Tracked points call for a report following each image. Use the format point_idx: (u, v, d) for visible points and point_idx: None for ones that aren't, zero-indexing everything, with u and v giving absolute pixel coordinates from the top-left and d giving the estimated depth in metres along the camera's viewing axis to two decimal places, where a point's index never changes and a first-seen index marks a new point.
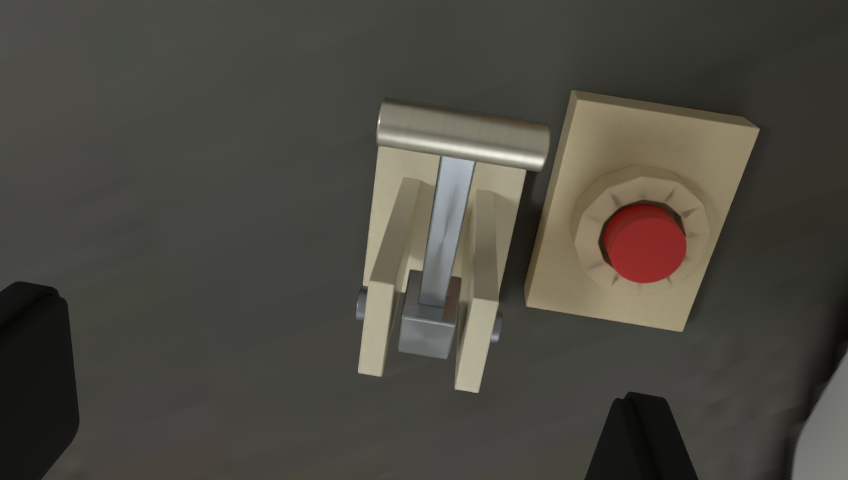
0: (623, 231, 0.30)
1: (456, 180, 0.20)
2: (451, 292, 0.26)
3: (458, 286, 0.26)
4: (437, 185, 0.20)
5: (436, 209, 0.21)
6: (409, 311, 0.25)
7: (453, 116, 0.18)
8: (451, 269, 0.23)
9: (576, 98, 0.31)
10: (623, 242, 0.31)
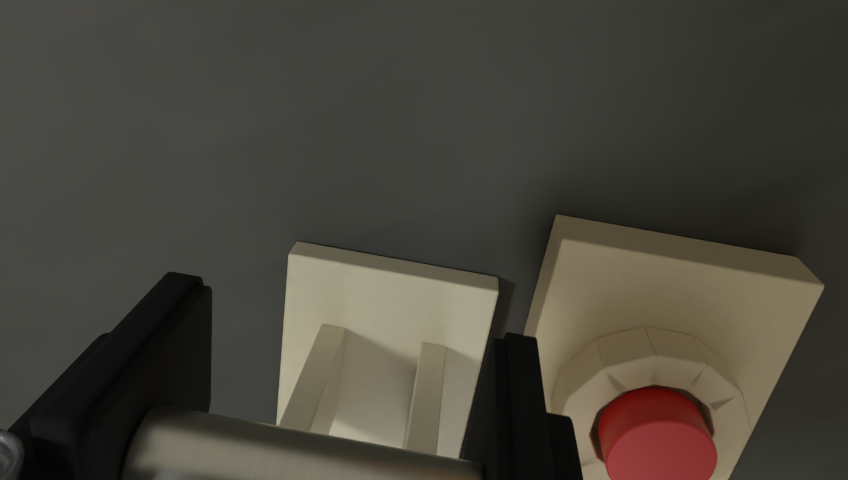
0: (626, 436, 0.21)
1: None
2: None
3: None
4: None
5: None
6: None
7: (279, 469, 0.09)
8: None
9: (561, 235, 0.22)
10: (625, 450, 0.21)
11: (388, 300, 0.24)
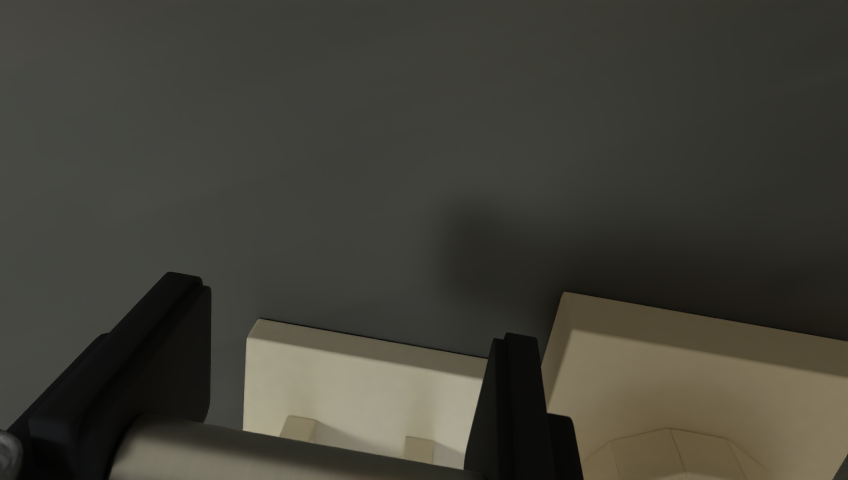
0: None
1: None
2: None
3: None
4: None
5: None
6: None
7: (278, 460, 0.09)
8: None
9: (570, 323, 0.18)
10: None
11: (364, 389, 0.21)
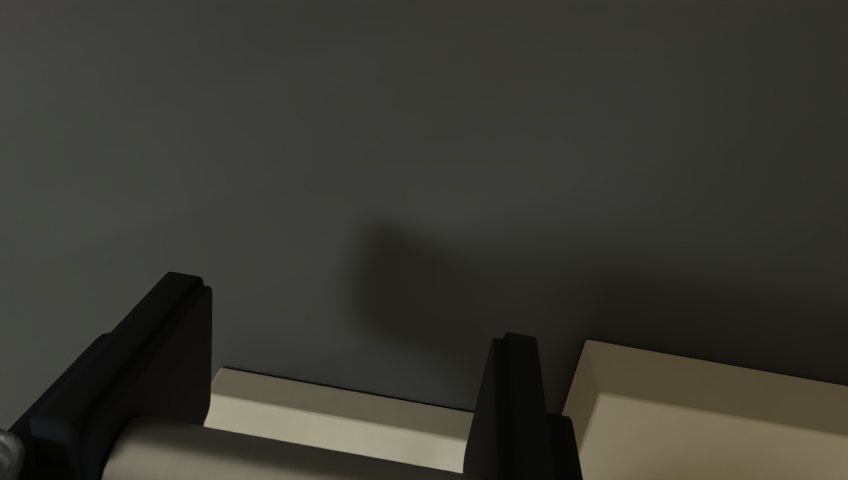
0: None
1: None
2: None
3: None
4: None
5: None
6: None
7: (281, 450, 0.09)
8: None
9: (596, 384, 0.15)
10: None
11: None
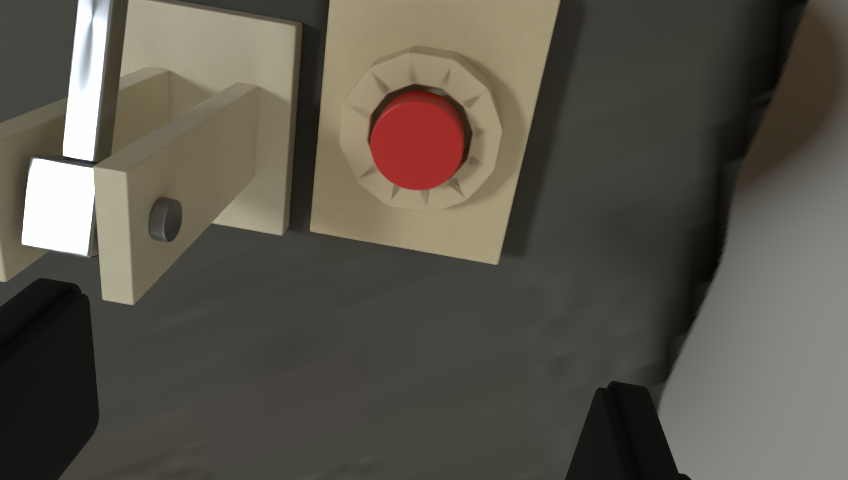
0: (382, 120, 0.24)
1: None
2: None
3: None
4: None
5: None
6: (43, 156, 0.19)
7: None
8: (102, 79, 0.19)
9: None
10: (384, 135, 0.24)
11: (202, 38, 0.27)
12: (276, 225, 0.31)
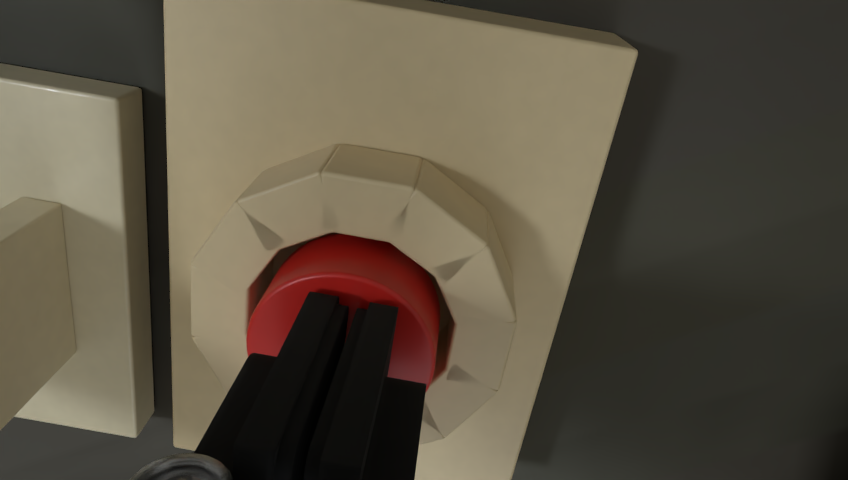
0: (266, 307, 0.12)
1: None
2: None
3: None
4: None
5: None
6: None
7: None
8: None
9: None
10: (272, 334, 0.12)
11: None
12: (124, 423, 0.18)
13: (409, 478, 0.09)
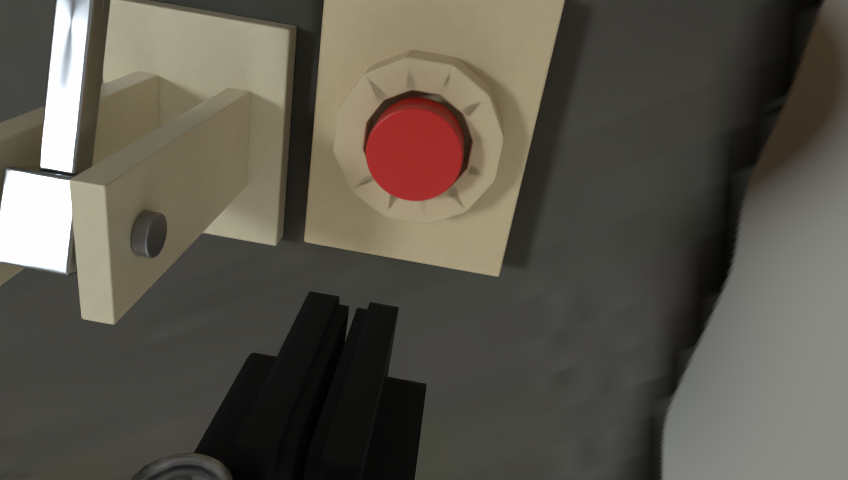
0: (378, 128, 0.23)
1: None
2: None
3: None
4: None
5: None
6: (19, 167, 0.18)
7: None
8: (82, 86, 0.18)
9: None
10: (380, 143, 0.23)
11: (192, 42, 0.26)
12: (270, 235, 0.30)
13: (409, 478, 0.09)
